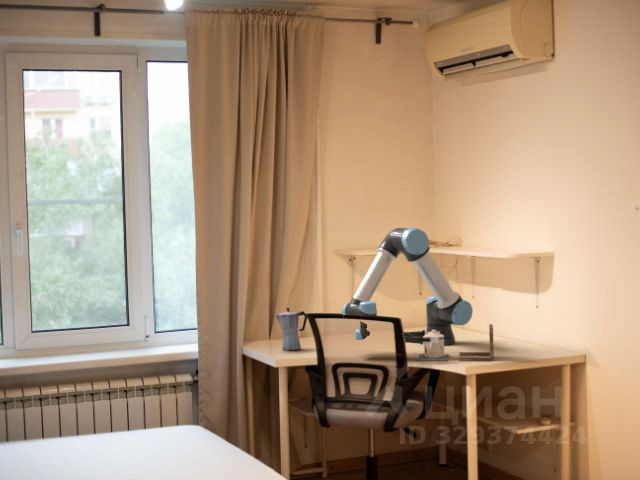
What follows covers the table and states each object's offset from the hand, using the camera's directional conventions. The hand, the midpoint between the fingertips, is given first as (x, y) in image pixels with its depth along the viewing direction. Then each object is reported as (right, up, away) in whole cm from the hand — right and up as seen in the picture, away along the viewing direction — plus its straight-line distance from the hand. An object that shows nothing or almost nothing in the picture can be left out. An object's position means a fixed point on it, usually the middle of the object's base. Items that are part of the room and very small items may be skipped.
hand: (439, 337), depth 374 cm
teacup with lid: (-2, -9, +1) cm, 9 cm away
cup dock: (+16, -9, -3) cm, 18 cm away
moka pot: (-65, -10, +35) cm, 75 cm away
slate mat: (-3, -9, +1) cm, 10 cm away
